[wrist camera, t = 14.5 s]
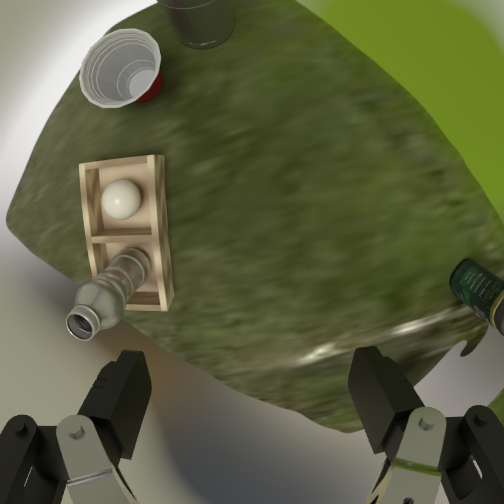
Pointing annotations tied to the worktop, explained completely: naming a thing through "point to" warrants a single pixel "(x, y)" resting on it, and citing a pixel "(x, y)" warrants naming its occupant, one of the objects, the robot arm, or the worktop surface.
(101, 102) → the plastic cup
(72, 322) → the plastic bottle
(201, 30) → the robot arm
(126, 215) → the white ball
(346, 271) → the worktop surface
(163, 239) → the crate
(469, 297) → the coffee jar
